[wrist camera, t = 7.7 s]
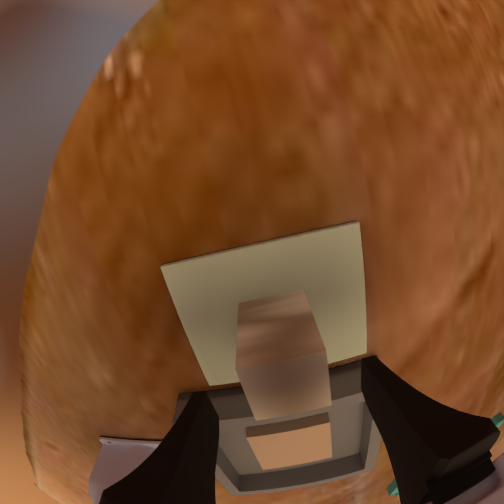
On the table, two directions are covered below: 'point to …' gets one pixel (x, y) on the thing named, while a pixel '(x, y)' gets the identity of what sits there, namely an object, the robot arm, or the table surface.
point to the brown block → (281, 356)
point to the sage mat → (272, 292)
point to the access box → (293, 439)
